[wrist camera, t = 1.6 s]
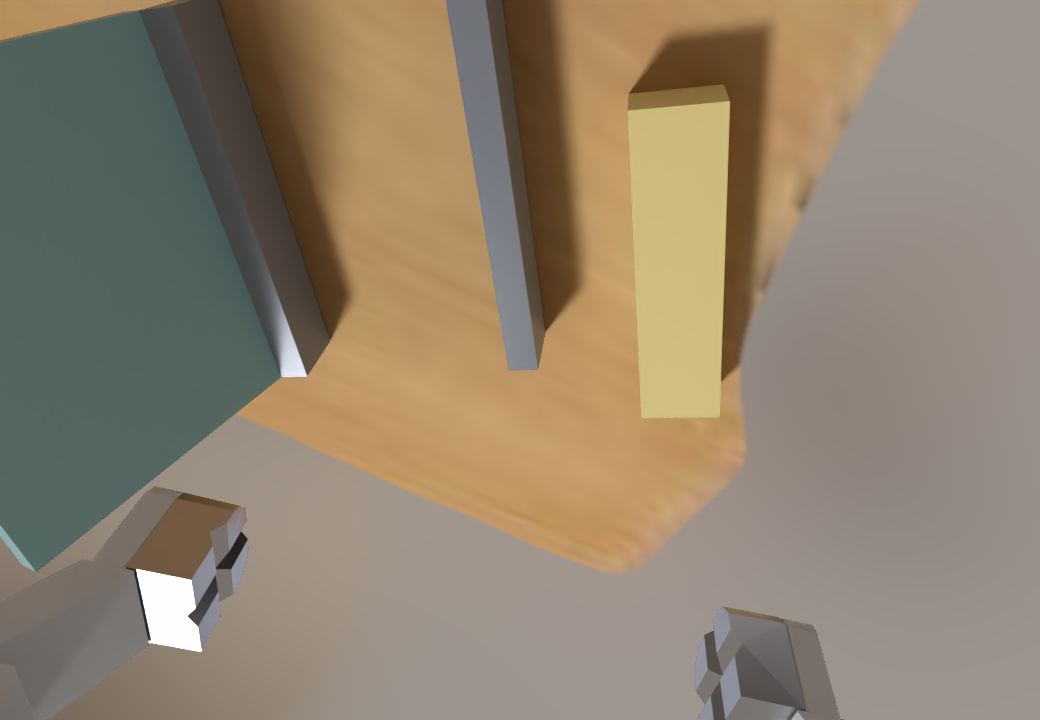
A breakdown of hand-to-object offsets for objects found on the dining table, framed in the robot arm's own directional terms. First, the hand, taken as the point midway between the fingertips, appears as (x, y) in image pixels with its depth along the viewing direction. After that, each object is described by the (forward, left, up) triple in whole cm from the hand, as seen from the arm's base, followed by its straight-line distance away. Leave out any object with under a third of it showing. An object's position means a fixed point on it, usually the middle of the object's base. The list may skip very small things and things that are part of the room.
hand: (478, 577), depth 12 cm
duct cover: (+19, +1, -15) cm, 24 cm away
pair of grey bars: (+10, +1, -25) cm, 27 cm away
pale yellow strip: (-4, +6, -25) cm, 26 cm away
